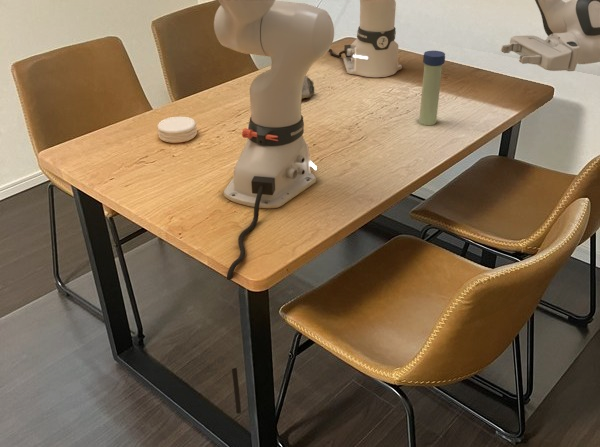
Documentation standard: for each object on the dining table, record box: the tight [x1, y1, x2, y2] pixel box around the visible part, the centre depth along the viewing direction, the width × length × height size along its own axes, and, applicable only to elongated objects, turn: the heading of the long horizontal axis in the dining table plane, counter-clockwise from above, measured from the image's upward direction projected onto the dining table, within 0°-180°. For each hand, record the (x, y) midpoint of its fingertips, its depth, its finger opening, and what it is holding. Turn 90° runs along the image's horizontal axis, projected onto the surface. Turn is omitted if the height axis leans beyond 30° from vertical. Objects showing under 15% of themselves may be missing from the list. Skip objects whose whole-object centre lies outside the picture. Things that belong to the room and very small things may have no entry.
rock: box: [301, 75, 315, 100], centre depth 186 cm, size 15×10×7 cm
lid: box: [422, 50, 446, 66], centre depth 159 cm, size 5×5×2 cm
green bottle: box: [418, 63, 444, 126], centre depth 164 cm, size 5×5×18 cm
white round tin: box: [156, 116, 198, 144], centre depth 162 cm, size 10×10×4 cm
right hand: (511, 54), depth 164 cm, fingers open, 8 cm apart
